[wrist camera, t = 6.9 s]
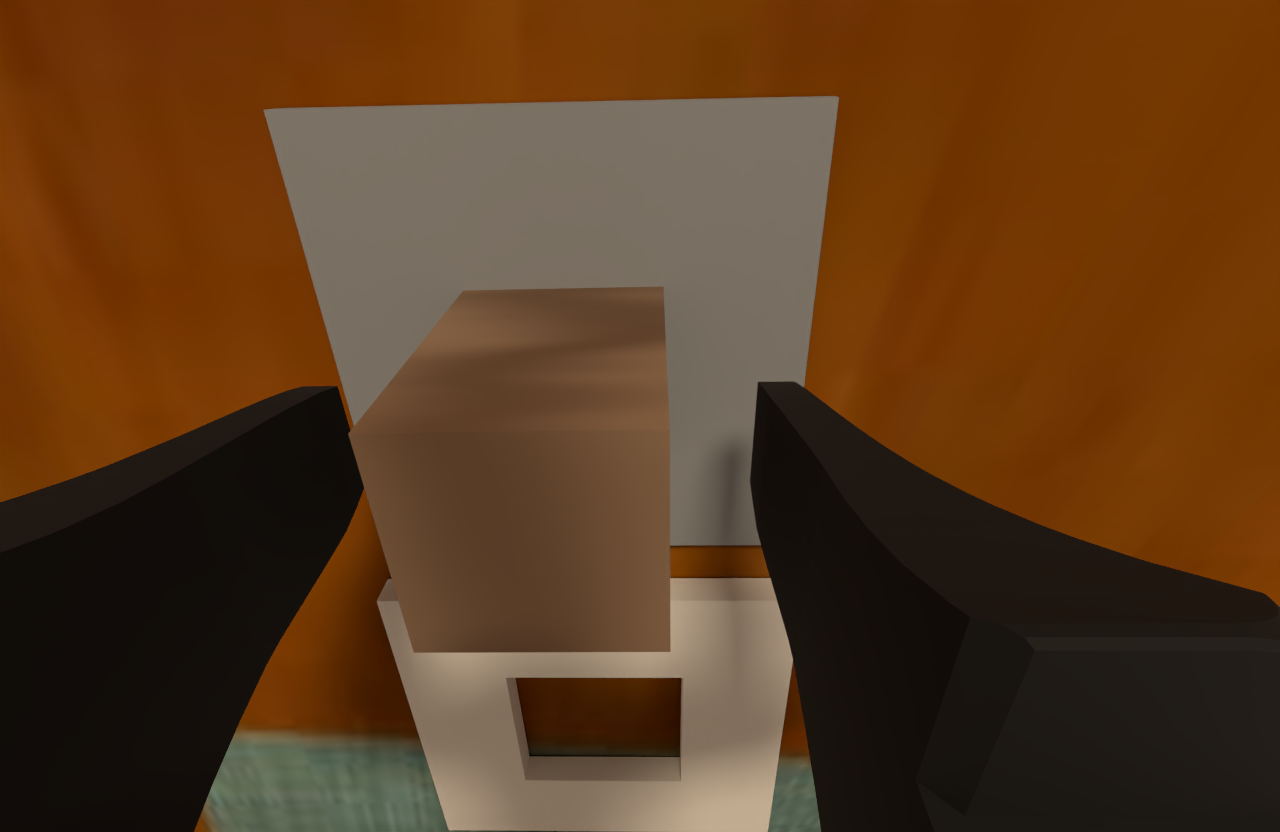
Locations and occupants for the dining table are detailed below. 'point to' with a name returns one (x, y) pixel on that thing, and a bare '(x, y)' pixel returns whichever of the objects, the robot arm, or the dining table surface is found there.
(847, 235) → the dining table surface
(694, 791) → the pocket plate
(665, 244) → the mat
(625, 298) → the block
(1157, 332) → the dining table surface
